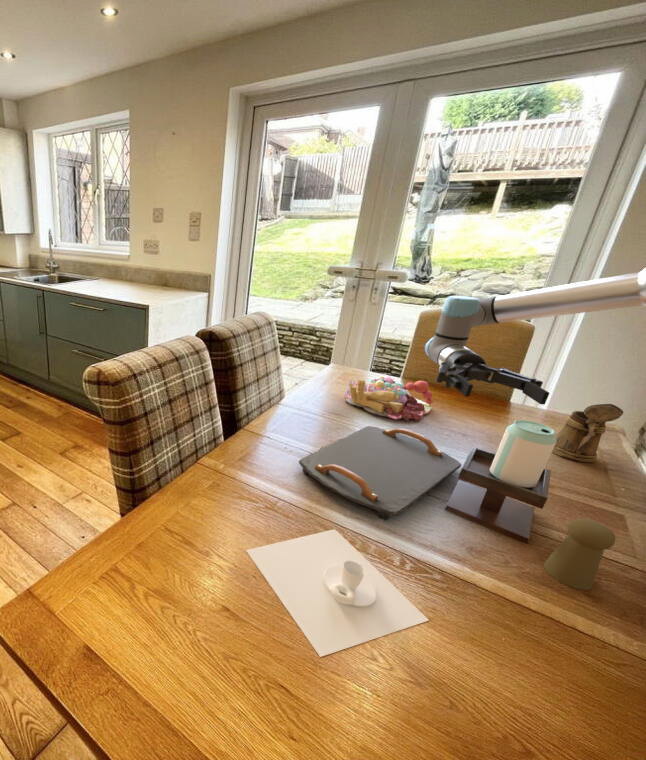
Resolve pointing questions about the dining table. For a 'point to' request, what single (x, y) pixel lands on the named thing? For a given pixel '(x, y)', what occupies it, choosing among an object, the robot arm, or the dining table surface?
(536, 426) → the can
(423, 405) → the candy landscape model
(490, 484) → the brown pedestal stand
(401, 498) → the serving tray
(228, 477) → the dining table surface
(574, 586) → the cork
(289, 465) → the dining table surface
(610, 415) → the wooden mug
